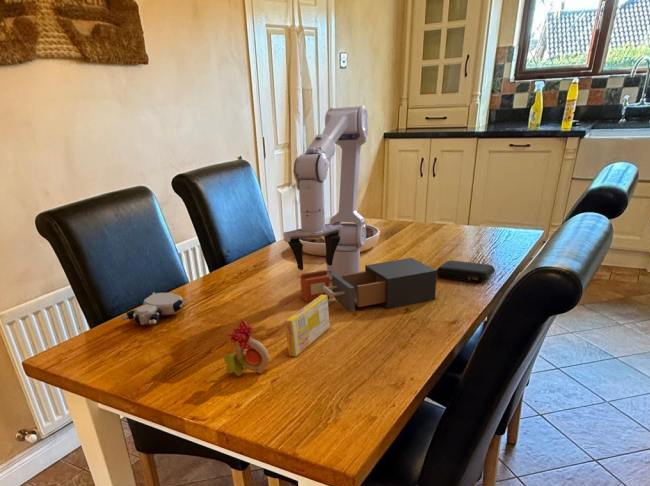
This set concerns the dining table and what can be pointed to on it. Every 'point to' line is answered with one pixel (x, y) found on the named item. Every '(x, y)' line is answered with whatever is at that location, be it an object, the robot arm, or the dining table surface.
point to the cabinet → (405, 281)
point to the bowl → (319, 248)
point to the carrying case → (465, 271)
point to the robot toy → (156, 308)
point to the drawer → (357, 289)
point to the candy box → (307, 325)
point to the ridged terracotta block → (313, 285)
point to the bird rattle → (254, 355)
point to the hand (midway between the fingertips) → (314, 266)
